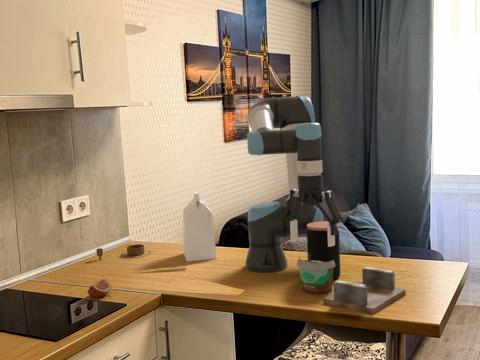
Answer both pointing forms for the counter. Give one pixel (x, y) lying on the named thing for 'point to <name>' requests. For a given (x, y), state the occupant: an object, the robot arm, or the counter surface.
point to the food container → (316, 276)
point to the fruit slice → (99, 288)
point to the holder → (366, 291)
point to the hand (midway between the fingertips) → (312, 243)
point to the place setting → (131, 250)
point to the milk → (198, 231)
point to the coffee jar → (323, 245)
